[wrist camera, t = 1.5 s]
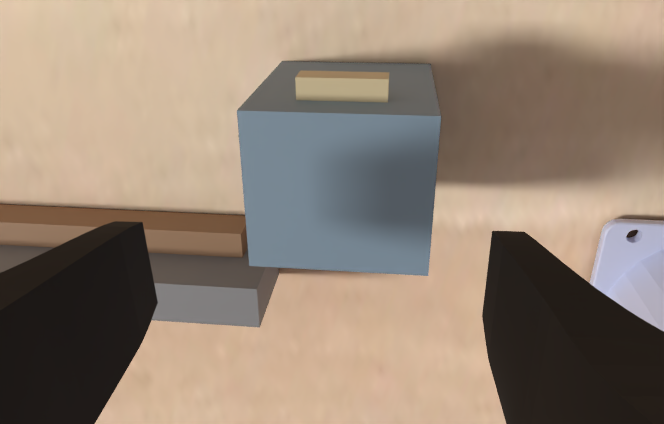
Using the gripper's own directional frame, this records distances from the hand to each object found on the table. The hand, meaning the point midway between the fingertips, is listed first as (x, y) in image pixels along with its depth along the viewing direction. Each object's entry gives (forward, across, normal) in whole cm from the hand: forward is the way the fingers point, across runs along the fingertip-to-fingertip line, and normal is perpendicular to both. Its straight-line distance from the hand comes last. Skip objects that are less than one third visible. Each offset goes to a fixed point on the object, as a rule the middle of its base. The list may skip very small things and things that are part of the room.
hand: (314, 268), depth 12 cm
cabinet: (+10, 0, 0) cm, 10 cm away
